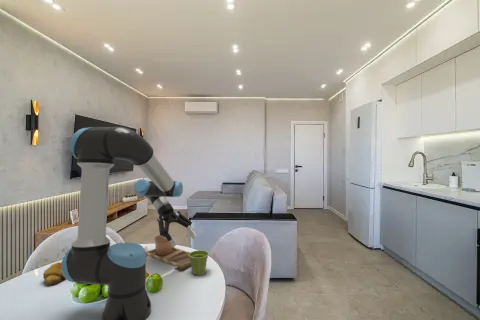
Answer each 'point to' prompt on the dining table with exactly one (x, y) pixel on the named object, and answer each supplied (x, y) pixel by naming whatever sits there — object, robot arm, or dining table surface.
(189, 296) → the dining table surface
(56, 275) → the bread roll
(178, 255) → the pallet
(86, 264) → the robot arm
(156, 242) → the pot
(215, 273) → the dining table surface
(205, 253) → the plant pot
